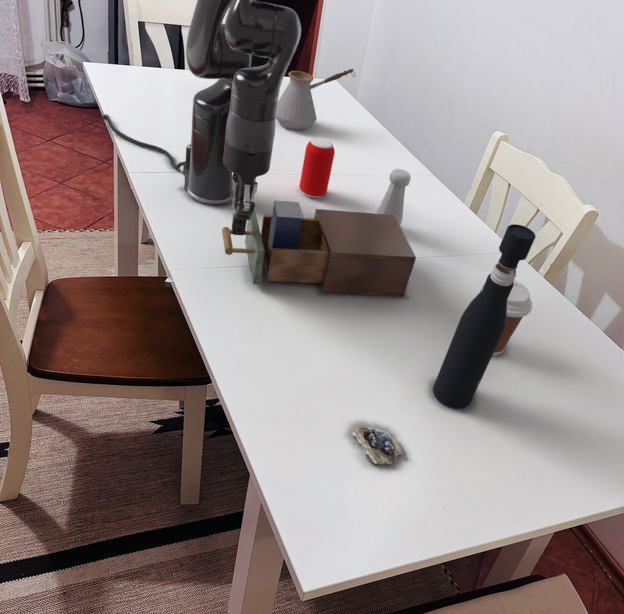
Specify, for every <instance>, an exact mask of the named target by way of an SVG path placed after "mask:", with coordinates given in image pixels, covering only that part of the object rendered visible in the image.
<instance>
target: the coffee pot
mask: <svg viewBox="0 0 624 614" xmlns="http://www.w3.org/2000/svg"><path fill="white" fill-rule="evenodd" d="M287 74H288V78H289V83H288V84H287V86H286V88H285V89H284V91H283V92H282V94H281V95H280V97H279V98H278V103H277V110H276V118H275V120H276V121H277V122H278V123H279V125H280V126H281V127H282V128H285V129H288V130H291V131H296V132H297V131H298V132H300V131H302V132H303V131H306V130H308V128H310V127H312V126H313V125H314V124H315V122H316V121H317V113H316V108H315V104H314V100H313V94H312V89H315V88H317V87H319V86H321V85H324V84H327V83H330V82H333V81H336V80H339V79H340V78H342V77H344V76H348V74H351V76H352V77H353V78H355V77H356V72H355V71H354V68H349V69H348V70H343V72H338V73H336V74H333V75H331V76H329V77H327V78H325V79H323V80H320V81H318V82H315V83H313V84H311V83H312V82H313V81H314V77H313V75H311V74H309V73H307V72H304V71H299V70H291V71H289V72H288V73H287ZM353 74H354V75H353Z"/></svg>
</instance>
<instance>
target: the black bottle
mask: <svg viewBox="0 0 624 614" xmlns="http://www.w3.org/2000/svg"><path fill="white" fill-rule="evenodd" d="M535 239H536V234H535V232H534V231H533V230H532V229H531V228H529V227H527V226H524V225H521V224H515V223H512V224H510V225H508V226H507V227H506V229H505V232H504V235H503V237H502V239H501V242H500V245H499V247H498V250H499V252H500V253H501V255H500V257H499V259H498V261H497V262H496V263H495V264H494V266H493V267H492V270H491V271H490V273H489V274H488V275H487V277H486V280H485V282H484V284H483V285H484V287H483V289H482V291H481V292H480V291H479V292H478V294H476V296H475V297H474V298H473V299H472V300H471V301H470V303H469V304H467V306H466V308H465V310H464V311H463V313H462V315H461V317H460V319H459V321H458V323H457V326H456V328H455V331H454V334H453V336H452V339H451V341H450V344H449V346H448V349H447V351H446V354H445V357H444V359H443V361H442V364H441V366H440V369H439V371H438V373H437V377H436V378H435V382H434V384H433V386H432V393H433V396H434V398H435V399H436V400H437V401H438V402H439V403H440V404H442V405H443V406H445V407H448V408H450V409H456V410H462V409H465V408H468V407H469V406H470V405H471V403H472V401H473V399H474V397H475V395H476V392H477V390H478V388H479V385H480V384H481V381H482V379H483V377H484V374H485V372H486V371H487V368H488V366H489V364H490V362H491V359H492V358H493V356H494V355H493V353H494V351H495V349H496V346H497V344H498V342H499V340H500V338H501V336H502V333H503V330H504V326H505V321H506V314H507V299H508V297H509V295H510V292H511V290H512V288H513V286H514V284H513V282H514V280H515V279H516V277H517V269H518V266H519V263H520V261H525V260H526V259H527V257H528V255H529V253H530V251H531V248H532V246H533V244H534V242H535Z"/></svg>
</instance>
